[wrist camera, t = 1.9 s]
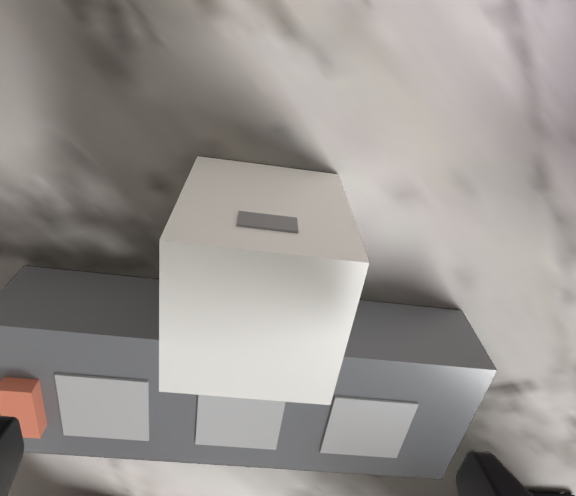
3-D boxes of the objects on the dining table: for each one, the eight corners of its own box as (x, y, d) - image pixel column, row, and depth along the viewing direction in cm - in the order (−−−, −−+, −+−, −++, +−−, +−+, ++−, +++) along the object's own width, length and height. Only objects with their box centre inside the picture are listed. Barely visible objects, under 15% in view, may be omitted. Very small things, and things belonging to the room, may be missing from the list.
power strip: (462, 310, 19) (504, 382, 16) (418, 413, 23) (445, 492, 19) (-128, 250, 17) (-233, 319, 14) (-83, 373, 20) (-159, 455, 17)
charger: (339, 172, 16) (370, 260, 11) (305, 333, 20) (316, 456, 15) (197, 154, 16) (159, 237, 10) (189, 322, 19) (158, 445, 14)
